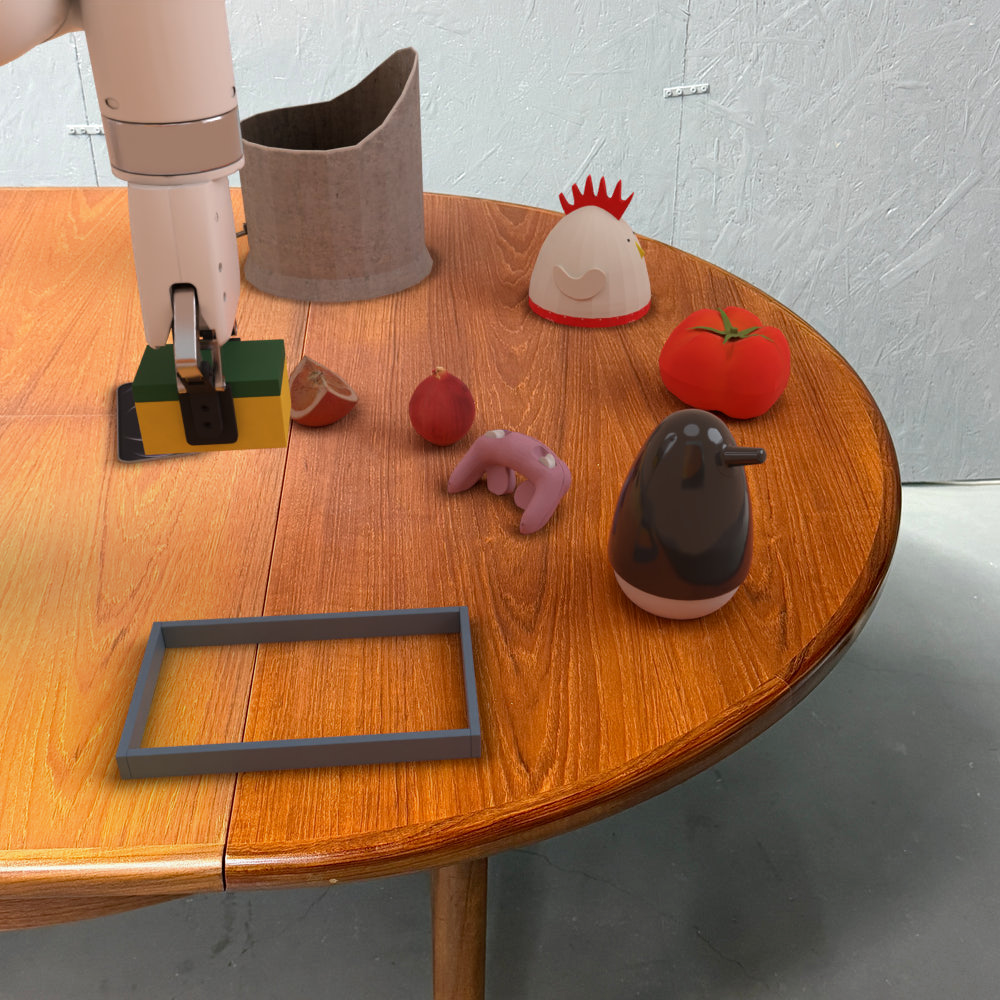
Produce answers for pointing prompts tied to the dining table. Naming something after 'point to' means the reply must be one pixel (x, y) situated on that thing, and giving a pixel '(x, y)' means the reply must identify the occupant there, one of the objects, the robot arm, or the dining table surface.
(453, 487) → the video game controller
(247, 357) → the sponge
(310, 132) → the pitcher
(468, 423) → the onion
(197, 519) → the dining table surface
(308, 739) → the rectangular frame
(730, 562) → the pump dispenser
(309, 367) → the fruit slice
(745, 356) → the tomato
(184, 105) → the robot arm
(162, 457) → the smartphone
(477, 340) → the dining table surface
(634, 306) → the kitchen timer
